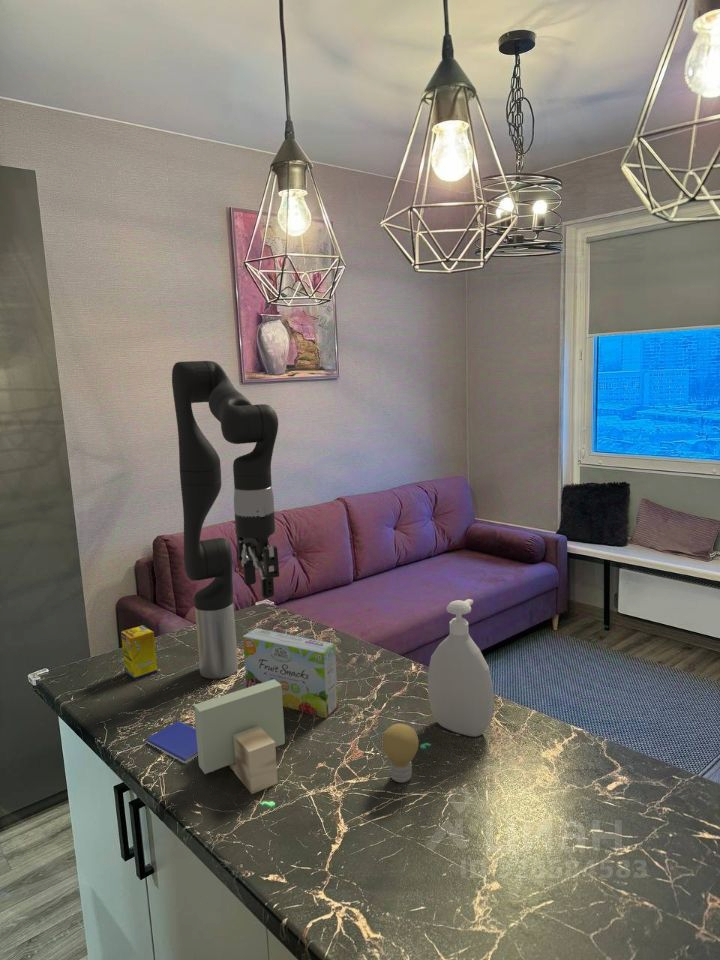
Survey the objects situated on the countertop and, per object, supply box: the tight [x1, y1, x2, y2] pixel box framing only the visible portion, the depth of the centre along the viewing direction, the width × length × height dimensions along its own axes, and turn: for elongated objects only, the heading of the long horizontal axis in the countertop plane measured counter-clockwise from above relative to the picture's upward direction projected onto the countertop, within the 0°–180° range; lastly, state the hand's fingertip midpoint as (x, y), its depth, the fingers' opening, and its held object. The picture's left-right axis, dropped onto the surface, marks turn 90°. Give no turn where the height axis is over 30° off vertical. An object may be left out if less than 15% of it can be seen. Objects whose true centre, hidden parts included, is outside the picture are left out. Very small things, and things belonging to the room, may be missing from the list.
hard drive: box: [145, 720, 198, 765], centre depth 130 cm, size 2×8×12 cm
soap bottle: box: [427, 598, 495, 737], centre depth 130 cm, size 14×8×27 cm, turn 53°
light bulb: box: [381, 723, 419, 784], centre depth 115 cm, size 6×6×10 cm
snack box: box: [242, 627, 339, 718], centre depth 143 cm, size 21×6×15 cm, turn 62°
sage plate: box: [193, 679, 286, 775], centre depth 121 cm, size 3×16×12 cm, turn 124°
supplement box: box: [120, 624, 158, 681], centre depth 160 cm, size 6×6×11 cm
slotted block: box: [228, 726, 278, 795], centre depth 121 cm, size 18×5×8 cm, turn 34°
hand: (258, 590), depth 128 cm, fingers open, 8 cm apart
